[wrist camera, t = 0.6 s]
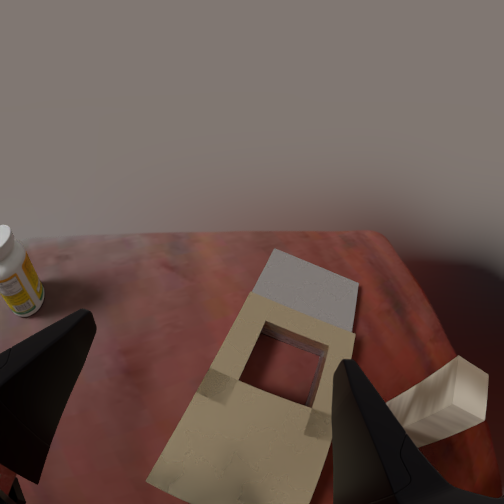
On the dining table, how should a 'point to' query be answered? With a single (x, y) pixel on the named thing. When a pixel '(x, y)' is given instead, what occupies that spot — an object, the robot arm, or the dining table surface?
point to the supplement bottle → (18, 276)
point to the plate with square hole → (264, 397)
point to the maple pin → (443, 403)
